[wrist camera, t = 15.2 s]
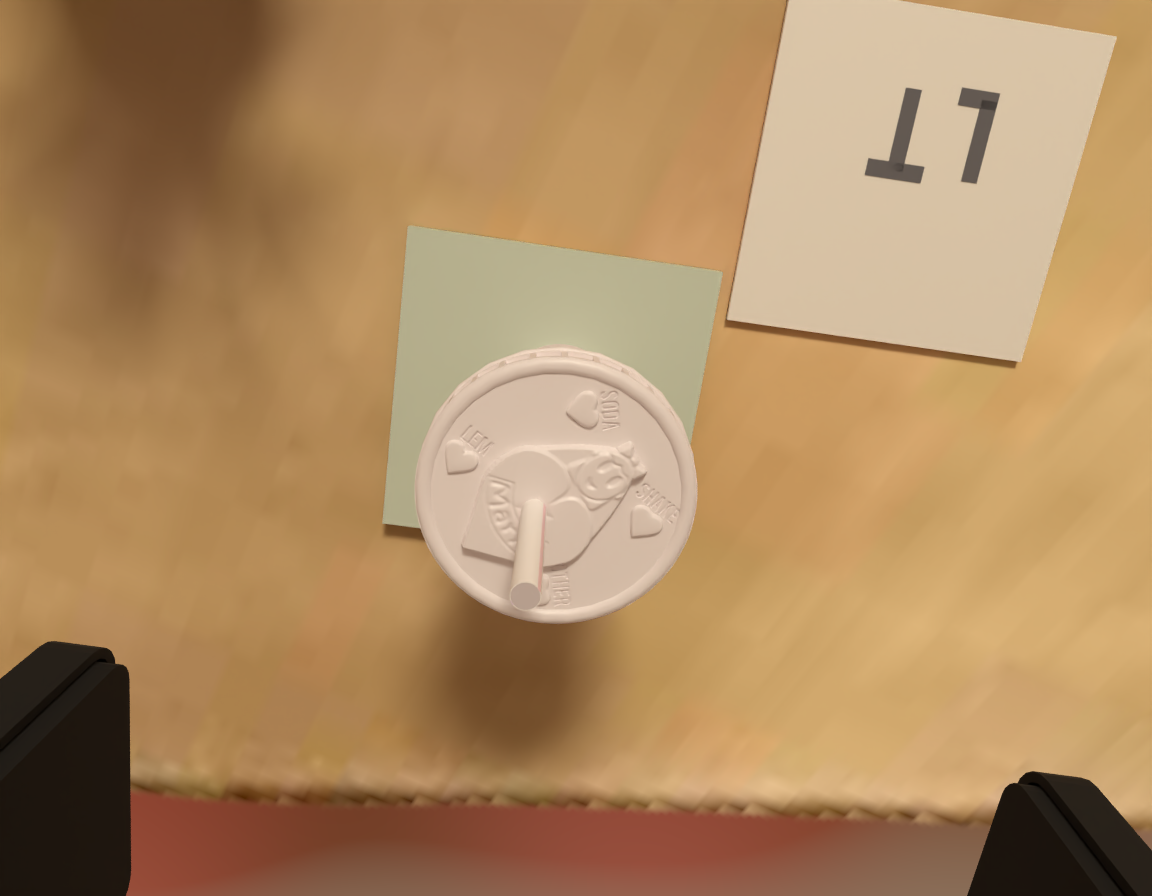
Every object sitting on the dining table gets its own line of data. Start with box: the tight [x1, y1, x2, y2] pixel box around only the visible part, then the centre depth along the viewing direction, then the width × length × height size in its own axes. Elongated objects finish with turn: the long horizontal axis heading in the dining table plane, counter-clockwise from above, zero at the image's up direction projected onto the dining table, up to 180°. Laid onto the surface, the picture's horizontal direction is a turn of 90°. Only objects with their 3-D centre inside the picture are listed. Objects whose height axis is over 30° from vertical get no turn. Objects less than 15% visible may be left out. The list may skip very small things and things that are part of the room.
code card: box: [726, 0, 1117, 362], centre depth 27 cm, size 10×10×1 cm
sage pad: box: [383, 225, 723, 528], centre depth 28 cm, size 10×10×1 cm
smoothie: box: [415, 344, 697, 624], centre depth 21 cm, size 6×6×14 cm
